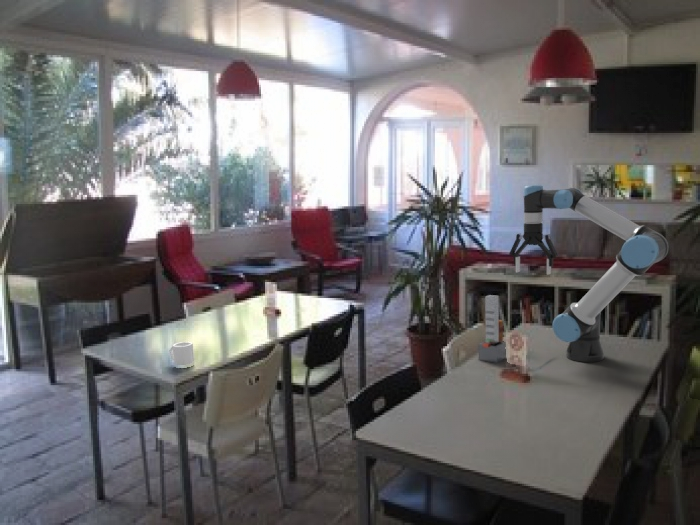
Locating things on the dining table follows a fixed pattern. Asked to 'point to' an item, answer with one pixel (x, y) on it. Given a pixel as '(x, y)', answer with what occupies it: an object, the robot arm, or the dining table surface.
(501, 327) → the mug
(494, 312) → the column
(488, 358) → the stand base
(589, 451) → the dining table surface
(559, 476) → the dining table surface
